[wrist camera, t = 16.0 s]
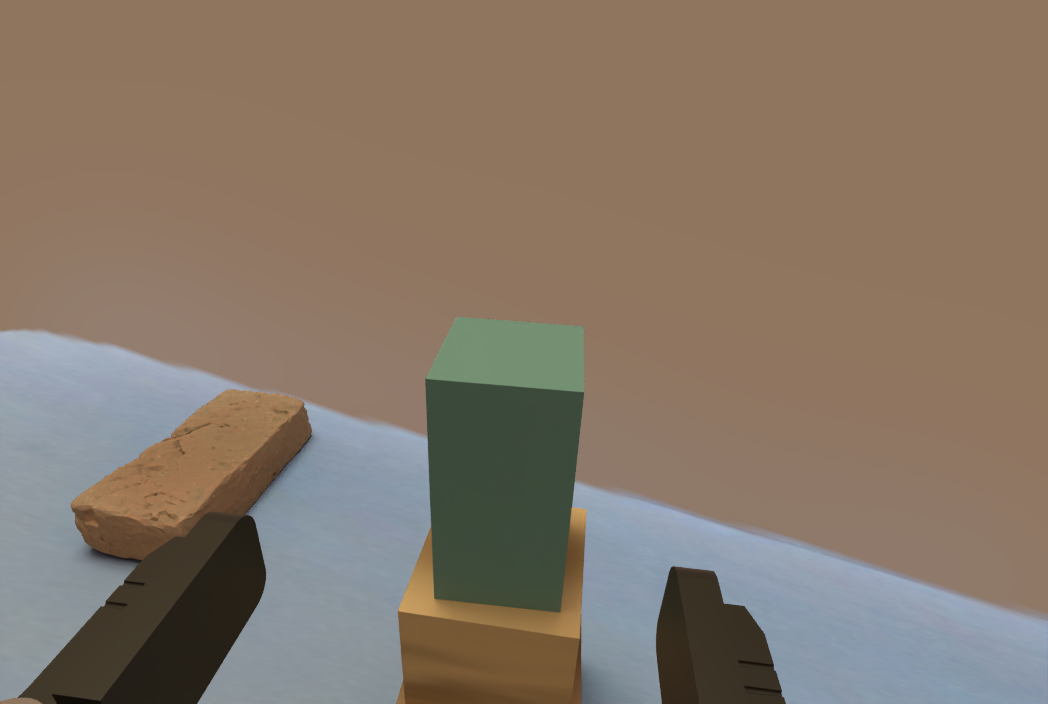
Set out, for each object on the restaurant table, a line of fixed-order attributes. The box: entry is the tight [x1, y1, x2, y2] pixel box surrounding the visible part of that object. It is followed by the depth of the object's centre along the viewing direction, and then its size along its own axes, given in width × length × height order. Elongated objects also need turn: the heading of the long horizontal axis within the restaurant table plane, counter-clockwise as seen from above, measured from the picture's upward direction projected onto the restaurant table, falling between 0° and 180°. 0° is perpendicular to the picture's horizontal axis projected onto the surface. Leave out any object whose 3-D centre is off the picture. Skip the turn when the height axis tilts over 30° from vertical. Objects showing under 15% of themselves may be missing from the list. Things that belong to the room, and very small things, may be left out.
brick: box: [71, 389, 312, 560], centre depth 44 cm, size 17×8×5 cm, turn 170°
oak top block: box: [398, 508, 586, 704], centre depth 26 cm, size 7×7×6 cm
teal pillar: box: [425, 317, 584, 613], centre depth 22 cm, size 5×5×10 cm
